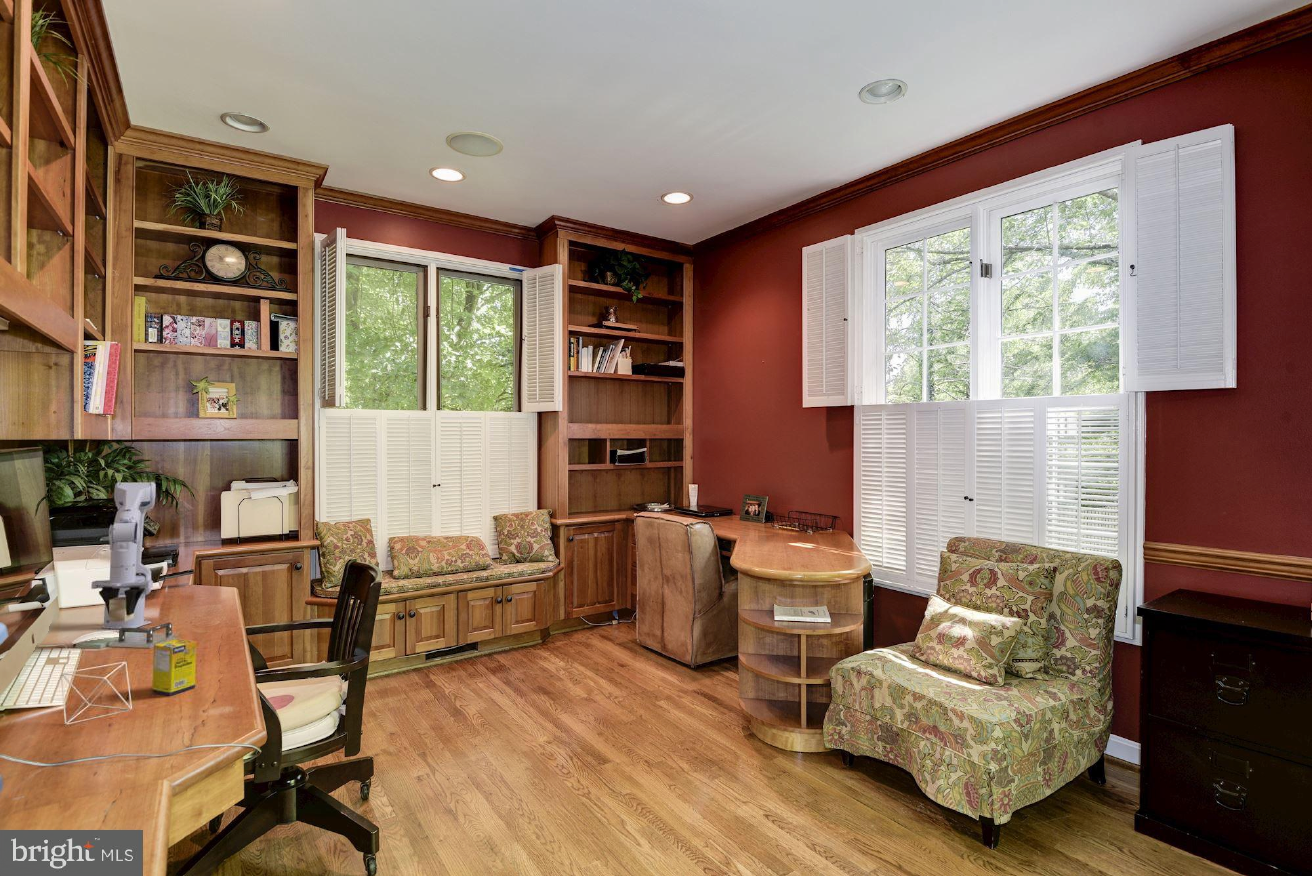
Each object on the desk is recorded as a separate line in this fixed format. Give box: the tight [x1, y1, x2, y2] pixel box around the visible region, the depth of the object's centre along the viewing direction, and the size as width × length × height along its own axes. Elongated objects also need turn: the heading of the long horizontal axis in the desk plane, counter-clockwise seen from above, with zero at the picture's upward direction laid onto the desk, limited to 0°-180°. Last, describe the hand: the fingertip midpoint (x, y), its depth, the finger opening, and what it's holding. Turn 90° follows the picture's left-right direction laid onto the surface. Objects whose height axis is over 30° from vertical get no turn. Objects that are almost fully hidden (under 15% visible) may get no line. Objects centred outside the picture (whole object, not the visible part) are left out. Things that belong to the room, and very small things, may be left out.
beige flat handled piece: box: [108, 621, 179, 649], centre depth 190 cm, size 12×10×5 cm
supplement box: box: [151, 638, 198, 697], centre depth 155 cm, size 6×6×11 cm
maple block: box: [109, 597, 134, 622], centre depth 188 cm, size 4×4×6 cm
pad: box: [75, 629, 137, 650], centre depth 191 cm, size 7×14×1 cm, turn 178°
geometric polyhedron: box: [60, 661, 133, 725], centre depth 141 cm, size 12×11×9 cm
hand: (121, 614), depth 188 cm, fingers closed on maple block, 4 cm apart
